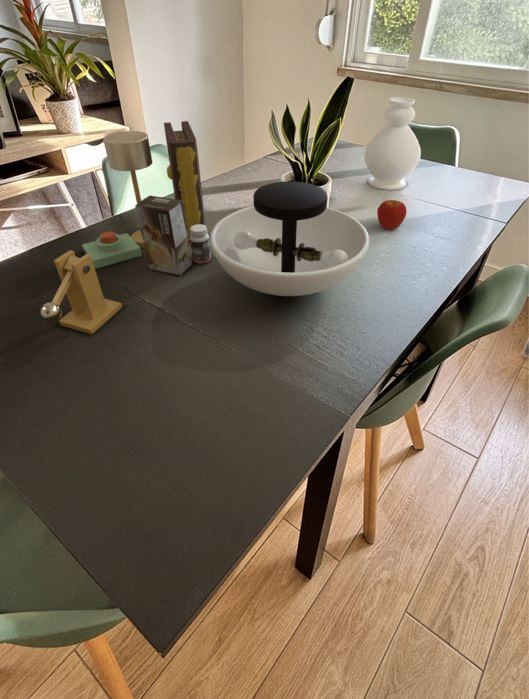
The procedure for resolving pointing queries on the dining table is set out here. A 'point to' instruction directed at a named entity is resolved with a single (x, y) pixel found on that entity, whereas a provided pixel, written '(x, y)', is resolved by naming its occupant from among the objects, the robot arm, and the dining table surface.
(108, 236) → the power button
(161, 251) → the coffee box
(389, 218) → the apple
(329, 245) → the light fixture
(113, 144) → the desk lamp
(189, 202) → the book
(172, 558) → the dining table surface
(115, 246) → the green push button base
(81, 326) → the switch bracket
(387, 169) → the decorative vase
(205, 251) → the pill bottle
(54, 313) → the lamp switch
